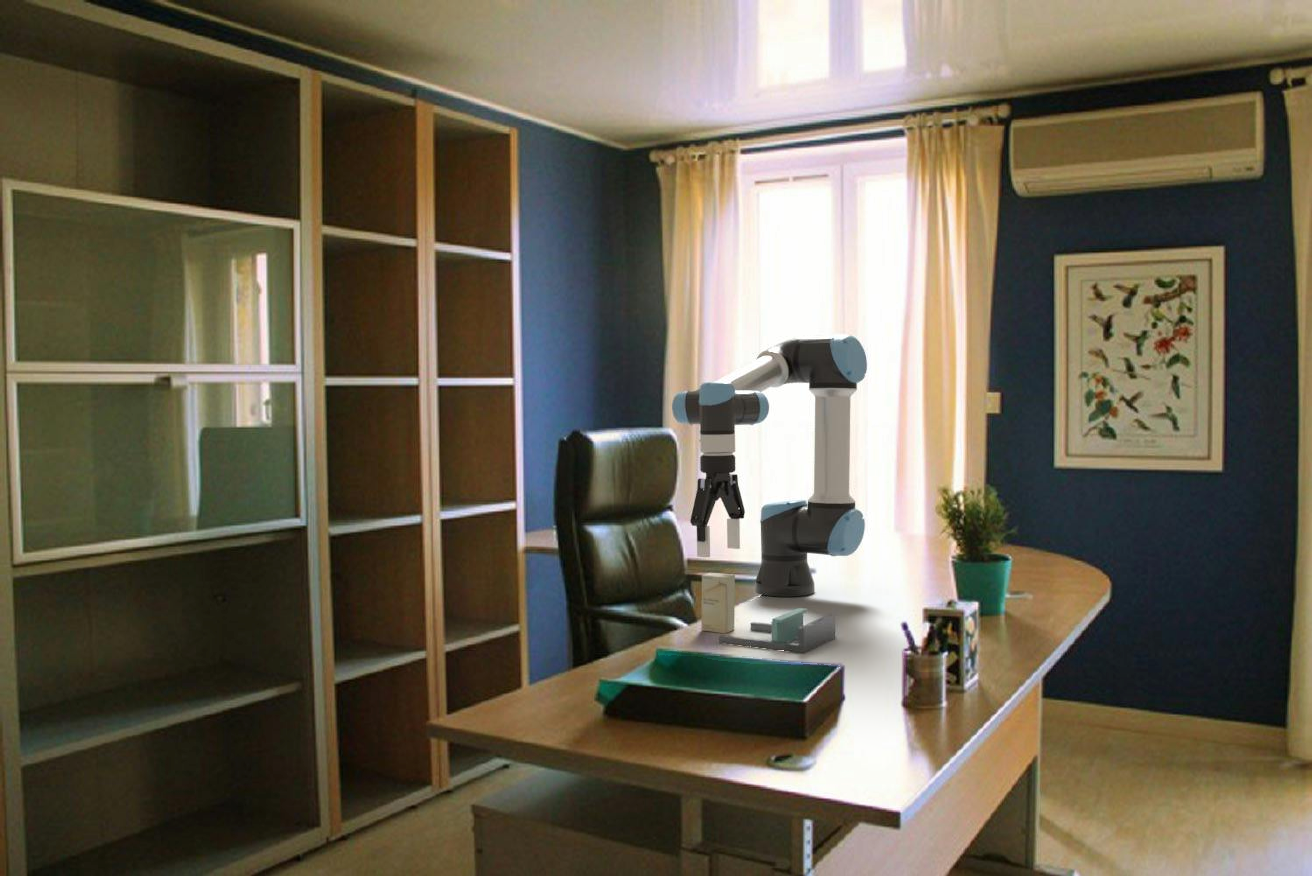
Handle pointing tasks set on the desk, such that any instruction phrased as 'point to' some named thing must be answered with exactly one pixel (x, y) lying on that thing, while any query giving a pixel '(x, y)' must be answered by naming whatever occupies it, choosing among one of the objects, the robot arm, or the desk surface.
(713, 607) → the skincare box
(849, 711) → the desk surface
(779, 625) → the block
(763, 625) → the lane
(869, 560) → the desk surface
